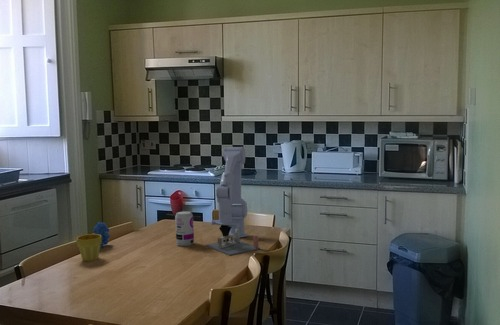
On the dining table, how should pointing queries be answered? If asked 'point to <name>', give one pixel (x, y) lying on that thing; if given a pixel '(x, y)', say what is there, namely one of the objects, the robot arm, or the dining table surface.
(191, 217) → the supplement can
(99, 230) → the grapes
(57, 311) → the dining table surface
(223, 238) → the gate
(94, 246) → the plant pot
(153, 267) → the dining table surface
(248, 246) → the gate frame
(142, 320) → the dining table surface
